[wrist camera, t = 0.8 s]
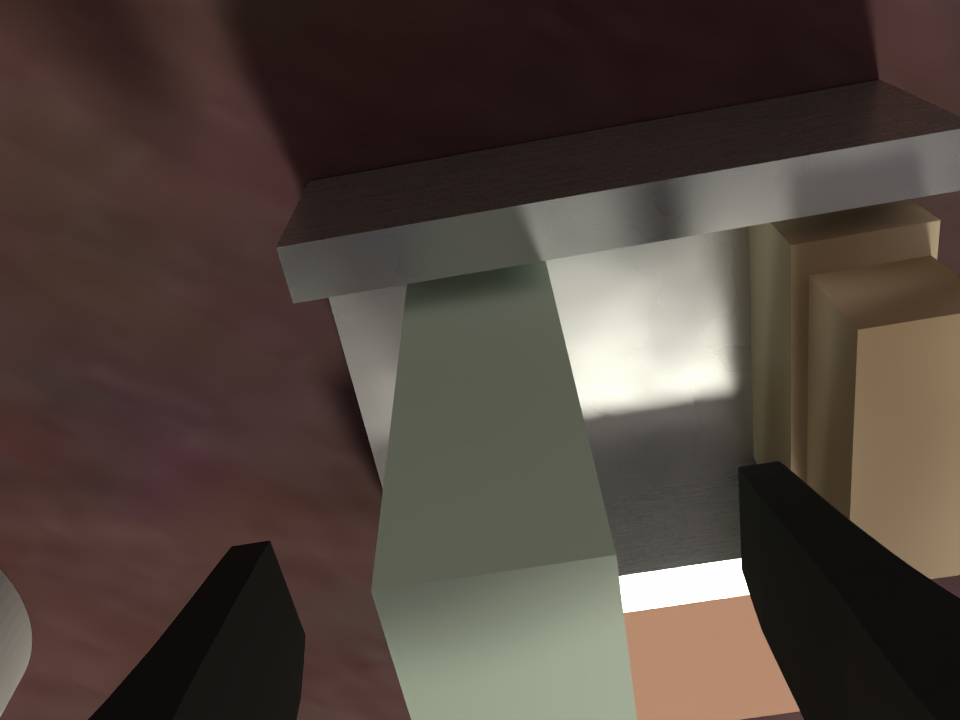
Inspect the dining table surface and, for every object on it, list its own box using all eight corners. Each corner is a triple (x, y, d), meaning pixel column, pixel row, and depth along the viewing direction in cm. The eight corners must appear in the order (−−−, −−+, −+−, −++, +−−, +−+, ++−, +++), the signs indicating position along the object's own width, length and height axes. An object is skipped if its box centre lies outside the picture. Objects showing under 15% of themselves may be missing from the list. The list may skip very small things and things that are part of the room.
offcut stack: (877, 175, 16) (1009, 268, 12) (864, 440, 19) (967, 581, 15) (747, 198, 16) (838, 296, 12) (753, 457, 19) (829, 601, 15)
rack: (880, 79, 16) (978, 126, 13) (861, 465, 21) (932, 567, 18) (308, 181, 17) (276, 247, 14) (405, 535, 21) (397, 645, 18)
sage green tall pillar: (539, 234, 17) (616, 554, 9) (576, 484, 19) (659, 896, 12) (410, 256, 17) (371, 590, 9) (466, 501, 20) (473, 919, 12)
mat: (838, 501, 21) (843, 509, 21) (831, 697, 24) (836, 706, 24) (433, 562, 22) (433, 571, 21) (481, 745, 25) (481, 754, 25)
